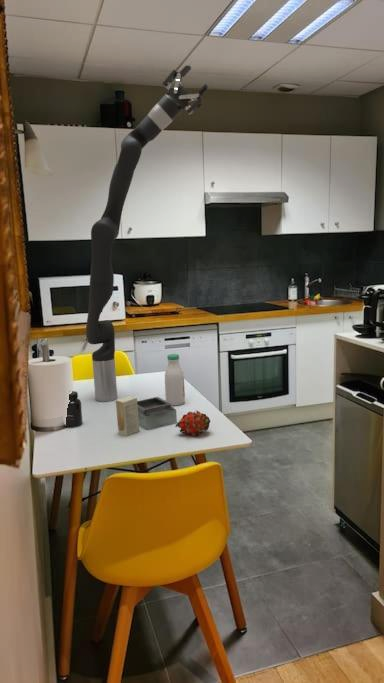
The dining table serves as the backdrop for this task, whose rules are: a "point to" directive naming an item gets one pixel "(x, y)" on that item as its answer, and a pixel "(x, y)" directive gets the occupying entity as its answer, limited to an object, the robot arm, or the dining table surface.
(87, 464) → the dining table surface
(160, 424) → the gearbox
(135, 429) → the skincare box
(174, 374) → the milk bottle
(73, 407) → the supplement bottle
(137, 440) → the dining table surface
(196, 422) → the dragon fruit
